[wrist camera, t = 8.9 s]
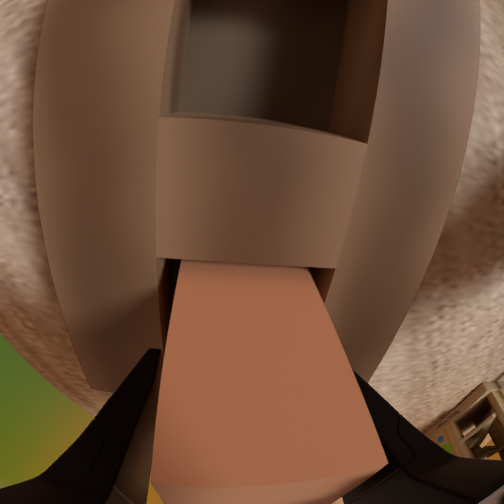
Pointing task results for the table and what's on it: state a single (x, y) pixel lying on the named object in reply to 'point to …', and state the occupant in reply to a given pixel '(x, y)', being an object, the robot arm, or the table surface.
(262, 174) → the socket block
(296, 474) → the pin
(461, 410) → the pounding bench toy
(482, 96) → the table surface
